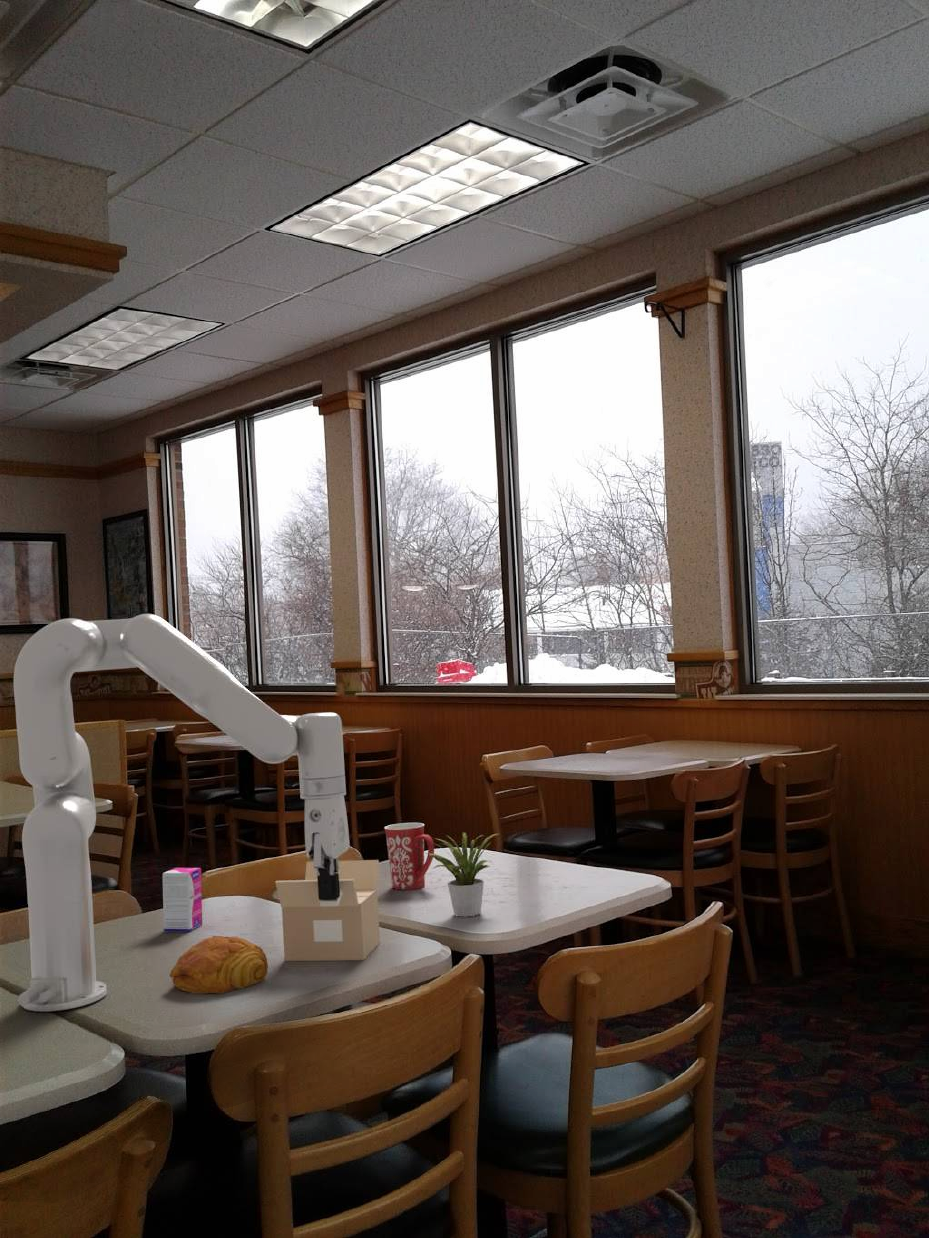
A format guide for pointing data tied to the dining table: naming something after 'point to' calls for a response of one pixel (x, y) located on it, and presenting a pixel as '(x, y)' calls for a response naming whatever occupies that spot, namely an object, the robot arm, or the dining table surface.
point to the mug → (408, 854)
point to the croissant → (220, 966)
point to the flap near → (314, 894)
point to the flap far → (352, 872)
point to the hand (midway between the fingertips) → (329, 898)
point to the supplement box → (182, 899)
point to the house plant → (465, 877)
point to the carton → (332, 930)
